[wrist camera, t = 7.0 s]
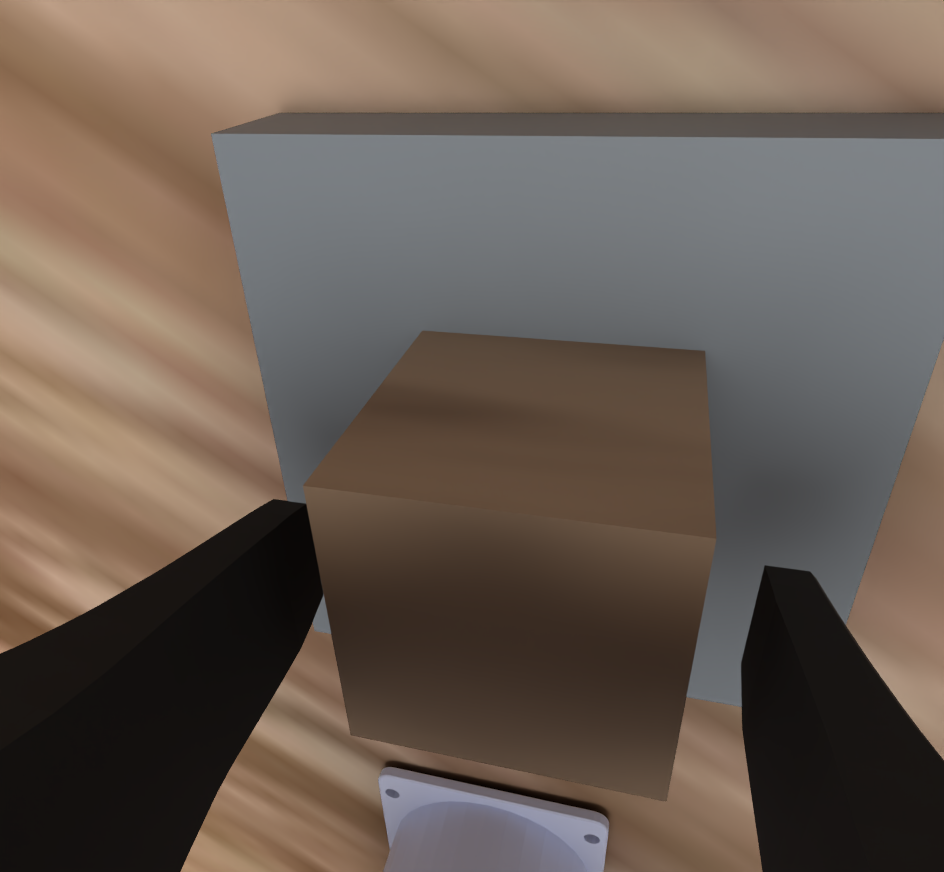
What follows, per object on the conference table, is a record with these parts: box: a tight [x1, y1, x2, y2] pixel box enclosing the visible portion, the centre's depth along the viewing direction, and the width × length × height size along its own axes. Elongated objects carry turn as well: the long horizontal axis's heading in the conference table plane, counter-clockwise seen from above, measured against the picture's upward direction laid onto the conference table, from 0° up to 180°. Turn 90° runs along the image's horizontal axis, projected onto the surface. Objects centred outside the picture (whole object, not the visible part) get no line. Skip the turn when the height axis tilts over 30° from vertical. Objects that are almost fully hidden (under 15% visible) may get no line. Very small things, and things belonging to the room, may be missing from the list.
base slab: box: [211, 113, 944, 707], centre depth 15 cm, size 12×12×2 cm
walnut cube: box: [303, 331, 717, 801], centre depth 12 cm, size 5×5×5 cm
